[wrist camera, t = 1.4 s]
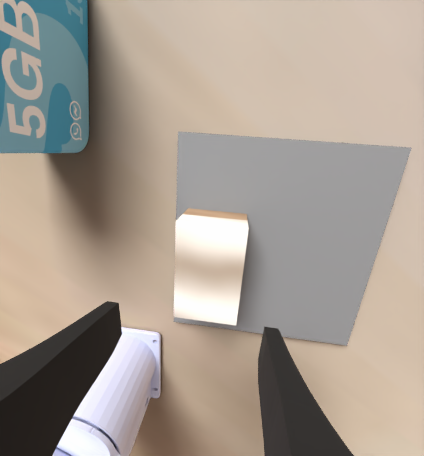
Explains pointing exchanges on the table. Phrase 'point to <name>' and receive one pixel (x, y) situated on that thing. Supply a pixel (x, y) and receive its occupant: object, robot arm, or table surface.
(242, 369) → the table surface
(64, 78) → the data package
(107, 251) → the table surface
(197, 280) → the metal box
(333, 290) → the desk mat
